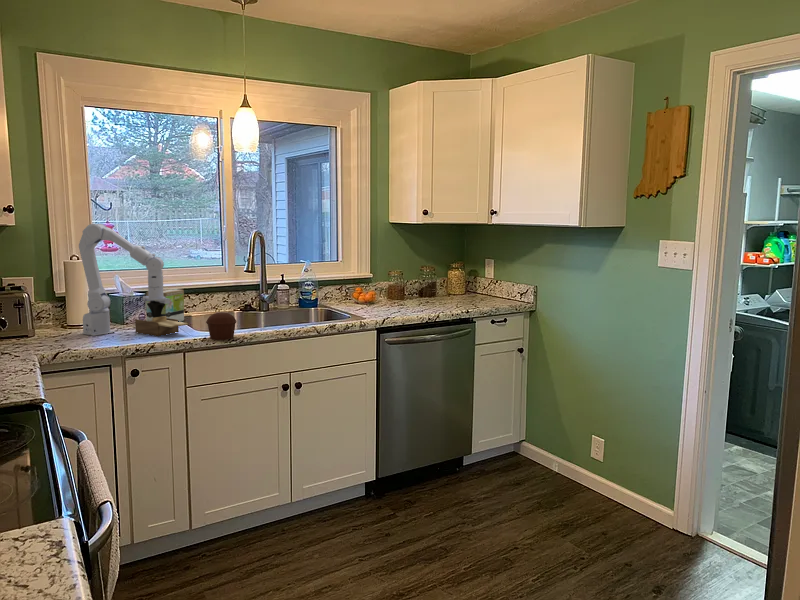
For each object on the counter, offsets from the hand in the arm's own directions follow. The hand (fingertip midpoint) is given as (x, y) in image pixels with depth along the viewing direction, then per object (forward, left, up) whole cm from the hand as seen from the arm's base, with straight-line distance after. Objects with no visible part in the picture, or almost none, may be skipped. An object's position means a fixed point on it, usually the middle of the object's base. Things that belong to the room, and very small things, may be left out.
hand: (156, 319), depth 252 cm
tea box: (+19, +18, -6) cm, 27 cm away
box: (0, -1, -5) cm, 5 cm away
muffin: (+8, -30, -6) cm, 31 cm away
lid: (0, -8, -1) cm, 8 cm away
